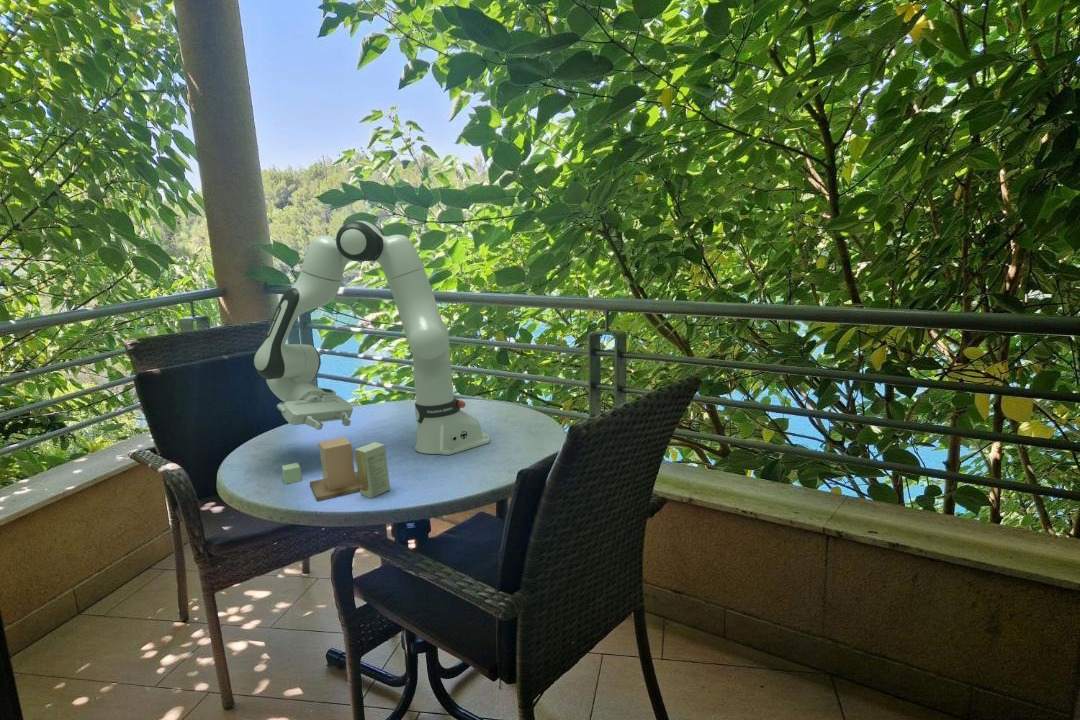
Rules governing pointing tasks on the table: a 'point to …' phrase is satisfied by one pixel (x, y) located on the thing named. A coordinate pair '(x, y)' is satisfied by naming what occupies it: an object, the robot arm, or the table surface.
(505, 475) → the table surface
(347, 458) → the tall tan cardboard box
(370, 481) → the skincare box
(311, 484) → the board
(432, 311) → the robot arm
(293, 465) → the green block
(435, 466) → the table surface
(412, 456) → the table surface
